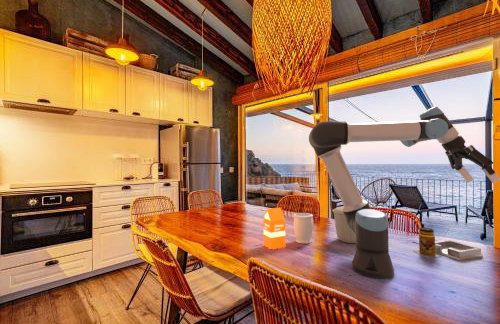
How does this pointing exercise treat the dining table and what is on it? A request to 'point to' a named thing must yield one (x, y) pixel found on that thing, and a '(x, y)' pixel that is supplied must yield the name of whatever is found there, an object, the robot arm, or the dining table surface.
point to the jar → (303, 227)
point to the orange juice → (274, 228)
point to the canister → (343, 227)
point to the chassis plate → (457, 250)
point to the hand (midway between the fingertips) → (482, 181)
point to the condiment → (427, 243)
